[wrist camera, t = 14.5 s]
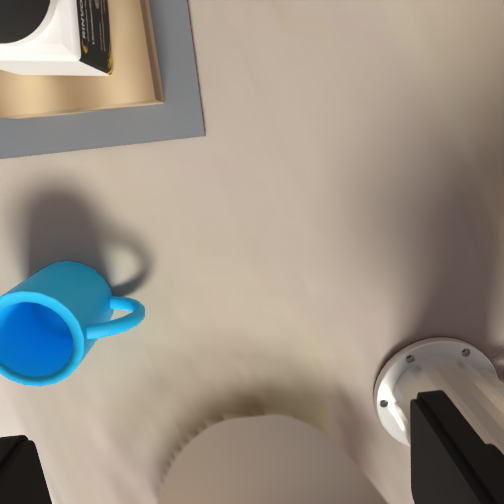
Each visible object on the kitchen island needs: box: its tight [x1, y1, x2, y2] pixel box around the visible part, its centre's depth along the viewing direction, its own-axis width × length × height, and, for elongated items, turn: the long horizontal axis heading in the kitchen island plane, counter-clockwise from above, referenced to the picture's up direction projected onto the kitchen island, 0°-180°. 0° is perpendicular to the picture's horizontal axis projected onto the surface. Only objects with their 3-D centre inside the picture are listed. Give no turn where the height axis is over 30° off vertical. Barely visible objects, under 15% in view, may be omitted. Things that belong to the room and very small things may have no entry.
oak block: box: [0, 0, 165, 119], centre depth 33 cm, size 12×12×4 cm
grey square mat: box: [0, 0, 205, 159], centre depth 35 cm, size 18×18×1 cm
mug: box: [0, 261, 145, 386], centre depth 38 cm, size 12×8×8 cm
